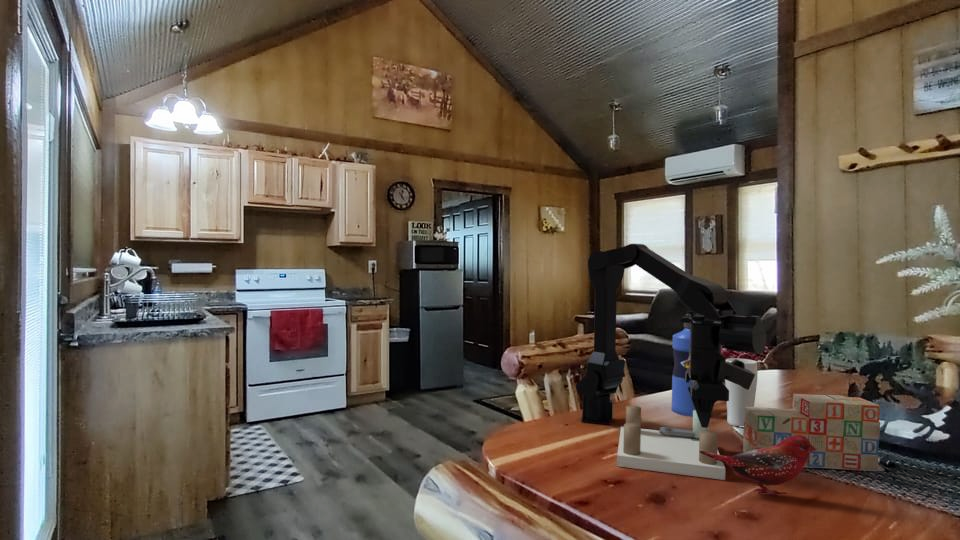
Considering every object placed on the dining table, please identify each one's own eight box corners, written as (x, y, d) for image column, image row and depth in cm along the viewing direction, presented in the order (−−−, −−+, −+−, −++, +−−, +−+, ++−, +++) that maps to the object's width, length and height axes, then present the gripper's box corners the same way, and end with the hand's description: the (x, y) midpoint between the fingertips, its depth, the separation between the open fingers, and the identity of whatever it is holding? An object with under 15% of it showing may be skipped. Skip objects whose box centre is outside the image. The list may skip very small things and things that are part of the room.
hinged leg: (659, 434, 107) (660, 409, 107) (659, 430, 110) (659, 406, 110) (709, 439, 104) (710, 414, 104) (707, 435, 107) (708, 410, 107)
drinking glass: (748, 421, 126) (750, 358, 126) (761, 430, 119) (762, 363, 119) (719, 420, 126) (720, 357, 126) (729, 428, 120) (731, 362, 120)
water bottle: (667, 405, 139) (669, 310, 138) (704, 407, 137) (707, 311, 137) (675, 415, 129) (678, 313, 129) (715, 418, 128) (718, 315, 128)
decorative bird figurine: (819, 502, 83) (821, 439, 83) (700, 492, 86) (701, 430, 86) (811, 494, 85) (813, 433, 85) (696, 484, 89) (697, 425, 88)
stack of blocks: (755, 464, 99) (756, 398, 99) (742, 452, 105) (744, 390, 105) (878, 471, 96) (881, 404, 96) (858, 459, 102) (860, 396, 102)
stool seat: (616, 466, 96) (617, 427, 96) (620, 435, 113) (621, 403, 113) (725, 480, 91) (726, 439, 91) (712, 446, 108) (712, 411, 108)
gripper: (761, 356, 92) (760, 446, 92) (742, 344, 110) (741, 419, 110) (692, 352, 96) (691, 439, 95) (685, 341, 113) (684, 414, 113)
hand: (704, 427), depth 103 cm, fingers closed
